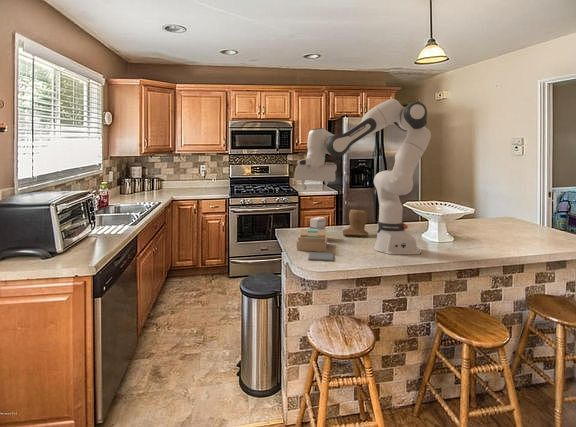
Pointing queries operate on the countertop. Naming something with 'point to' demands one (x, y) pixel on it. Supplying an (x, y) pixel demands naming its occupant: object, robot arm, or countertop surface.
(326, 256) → the mat
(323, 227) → the ink box
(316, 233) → the tea box
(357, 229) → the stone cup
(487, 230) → the countertop surface
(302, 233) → the carton
